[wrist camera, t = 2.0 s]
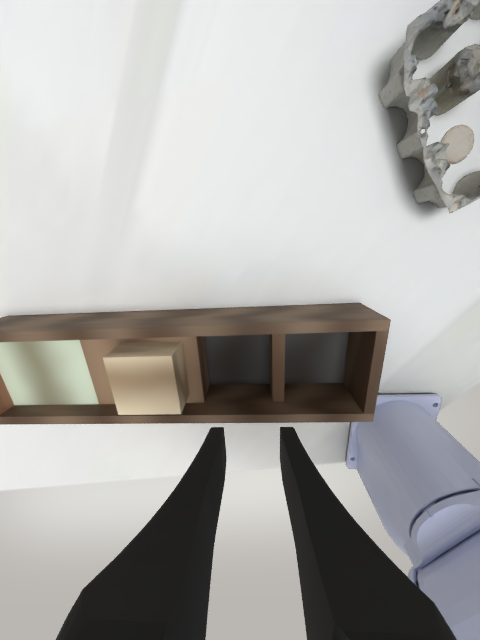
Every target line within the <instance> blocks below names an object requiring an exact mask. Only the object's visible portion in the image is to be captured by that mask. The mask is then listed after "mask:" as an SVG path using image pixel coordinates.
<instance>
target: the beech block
mask: <svg viewBox="0 0 480 640" xmlns="http://www.w3.org/2000/svg"><path fill="white" fill-rule="evenodd" d="M103 361H104V365H105V368H106V372H107V375H108V379H109V383H110V386H111V390H112V393H113V397H114V401H115V404H116V408H117V411H118V415H155V414H182V411H183V409H184V406H185V404H186V401H187V399H188V396H189V394H190V393H189V386H188V379H187V372H186V365H185V358H184V352H183V345H182V341H174V342H139V343H121V344H120V345H118V346H117V347H116V348H115V349H113V350H112V351H111V352H109V353H108V354H107V355H106V356H104V357H103Z"/></svg>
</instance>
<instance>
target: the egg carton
mask: <svg viewBox="0 0 480 640" xmlns="http://www.w3.org/2000/svg"><path fill="white" fill-rule="evenodd" d="M469 18H470V19H472V20H478V19H480V0H440V1H439V2H438V3H436V4H435V5H434V6H433V7H432V8H430V9H429V10H428V11H427V12H426V13H424V14H422V15H420V16H419V17H417V18H416V19H415V20H414V21H413V22H411V23H410V24H409V25H408V27H407V31H406V40H405V43H404V44H403V45H402V46H401V47H400V49H399V50H398V52H397V53H396V54H395V56H394V57H393V58H392V59H391V60H390V76H389V80H388V82H387V84H386V86H385V87H384V88H383V89H382V90H381V92H380V93H379V98H380V101H381V104H382V106H383V108H384V109H385V108H389V107H400V108H402V109H403V110H404V111H405V112H406V115H407V118H408V128H407V131H406V133H405V135H404V137H403V139H402V140H401V141H400V142H399V143H398V144H397V149H398V152H399V155H400V157H401V159H403V158H408V157H415V158H418V159H419V160H420V161H421V162H422V163H423V166H424V177H423V180H422V182H421V183H420V185H419V186H418V187H417V188H416V189H415V190H414V191H413V194H414V197H415V200H416V202H417V203H418V204H419V203H422V202H425V201H430V202H432V203H434V204H435V205H436V206H437V207H439V208H444V207H447V208H448V209H449V213H452V212H454V211H456V210H458V209H460V208H462V207H464V206H466V205H468V204H470V203H471V202H473V201H475V200H477V199H479V198H480V171H477V172H474V173H471V174H468V175H466V176H465V177H463V178H462V179H461V180H460V181H459V182H458V183H457V184H456V186H455V187H454V190H453V195H450V194H446V193H445V192H444V191H443V190H442V180H441V178H442V177H443V175H444V174H445V172H446V170H447V169H448V168H449V167H450V164H456V163H458V162H460V161H462V160H463V159H464V158H466V157H467V155H468V154H469V152H470V151H471V150H472V148H473V144H474V134H473V130H471V128H469V127H468V126H465V125H458V126H455V127H452V128H451V129H450V130H449V131H447V132H446V134H445V135H444V137H443V138H442V140H441V143H440V142H436V143H433V144H431V145H428V146H426V141H427V138H428V135H427V132H426V131H427V129H428V127H429V126H430V123H429V120H428V119H429V118H430V117H431V116H433V114H435V115H440V114H443V113H445V112H447V111H448V110H450V109H452V108H453V107H455V106H456V105H458V104H459V103H461V102H462V101H464V100H465V99H467V98H468V97H470V96H471V95H473V94H474V93H476V92H477V91H479V90H480V45H477V44H474V45H471V46H468V47H465V48H464V49H463V50H461V51H460V52H458V53H457V54H456V55H455V57H453V58H452V59H451V60H450V61H449V62H448V63H447V64H446V65H445V66H444V67H443V68H441V69H440V70H439V71H438V72H437V73H436V74H435V75H434V76H433V77H432V78H431V79H430V81H429V79H426V78H422V79H418V80H413V79H412V76H413V74H414V72H415V71H416V69H417V68H416V66H417V64H418V60H424V59H427V58H429V57H430V56H432V55H433V54H434V53H435V52H436V51H437V50H438V49H439V48H440V46H441V45H443V43H444V42H445V41H446V40H447V39H448V38H449V37H450V36H451V35H452V34H453V33H454V32H455V31H456V30H457V29H458V28H459V27H460V26H461V25H462V24H463V23H464V22H466V21H467V20H468V19H469ZM425 79H426V80H425ZM421 129H425V133H423V134H421V133H420V131H421Z"/></svg>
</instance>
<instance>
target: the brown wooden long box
mask: <svg viewBox="0 0 480 640" xmlns="http://www.w3.org/2000/svg"><path fill="white" fill-rule="evenodd" d="M390 321H391V320H390V319H388V318H387V317H385V316H383V315H381V314H379V313H377V312H376V311H374V310H372V309H370V308H368V307H366V306H365V305H363V304H361V303H346V304H319V305H292V306H265V307H238V308H211V309H184V310H157V311H130V312H103V313H76V314H49V315H22V316H6V317H3V318H0V424H131V423H285V422H373V419H374V413H375V407H376V402H377V396H378V390H379V384H380V378H381V373H382V367H383V361H384V355H385V350H386V344H387V338H388V332H389V327H390ZM174 341H182V345H183V352H184V358H185V365H186V372H187V379H188V386H189V393H190V394H189V396H188V399H187V401H186V404H185V406H184V409H183V411H182V414H155V415H118V411H117V408H116V404H115V401H114V397H113V393H112V390H111V386H110V383H109V379H108V375H107V372H106V368H105V365H104V361H103V357H104V356H106V355H107V354H108V353H109V352H111V351H112V350H113V349H115V348H116V347H117V346H118V345H120V344H121V343H139V342H174Z"/></svg>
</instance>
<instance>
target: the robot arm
mask: <svg viewBox="0 0 480 640" xmlns="http://www.w3.org/2000/svg"><path fill="white" fill-rule="evenodd" d="M441 401H442V398H441V397H440V396H439V395H437V394H401V395H378V396H377V402H376V407H375V413H374V419H373V422H351V428H350V436H349V443H348V451H347V458H346V465H347V467H348V468H349V469H357V470H358V473H359V475H360V477H361V479H362V481H363V483H364V485H365V487H366V490H367V491H368V494H369V496H370V498H371V500H372V502H373V504H374V507H375V509H376V511H377V513H378V515H379V517H380V519H381V522H382V524H383V526H384V527H385V529H386V531H387V533H388V534H389V536H390V537H391V539H392V540H393V541H394V542H395V543H396V545H397V546H398V547H399V548H400V549H401V550H402V551H403V552H405V554H407V555H408V556H409V558H410V560H411V562H412V564H413V567H412V568H411V569H410V571H409V573H408V577H407V576H406V575H405V574H404V573H403V572H402V571H401V570H400V569H399V568H398V567H397V566H396V565H395V564H394V563H393V562H392V561H391V560H390V559H389V558H388V557H387V555H386V554H385V553H384V552H383V551H382V550H381V549H380V548H379V547H378V546H377V545H376V544H375V542H374V541H373V540H372V539H371V538H370V537H369V536H368V535H367V534H366V532H365V531H364V530H363V529H362V528H361V527H360V526H359V525H358V524H357V523H356V521H355V520H354V519H353V517H352V516H351V515H350V514H349V513H348V512H347V510H346V509H345V508H344V506H343V505H342V504H341V503H340V501H339V500H338V499H337V497H336V496H335V495H334V493H333V492H332V491H331V489H330V488H329V487H328V485H327V484H326V482H325V481H324V479H323V478H322V476H321V475H320V473H319V472H318V470H317V469H316V467H315V465H314V464H313V462H312V461H311V459H310V457H309V456H308V454H307V452H306V451H305V449H304V447H303V445H302V443H301V442H300V440H299V438H298V436H297V433H296V431H295V429H294V428H293V427H280V463H281V471H282V481H283V486H284V491H285V496H286V501H287V505H288V510H289V516H290V521H291V525H292V531H293V536H294V541H295V547H296V554H297V561H298V569H299V577H300V585H301V593H302V600H303V609H304V617H305V625H306V633H307V640H480V462H479V461H478V460H477V459H476V458H475V457H474V456H473V455H472V454H470V452H468V451H467V450H466V449H465V448H464V447H463V446H462V445H461V444H460V443H459V442H458V441H457V440H456V439H455V438H454V437H453V436H452V435H451V434H450V433H449V432H448V431H447V430H445V429H444V428H443V427H442V426H441V425H440V424H439V423H438V422H437V421H436V419H437V415H438V411H439V408H440V404H441ZM225 470H226V448H225V437H224V427H212V428H211V429H210V430H209V433H208V435H207V437H206V439H205V441H204V443H203V444H202V446H201V448H200V450H199V452H198V453H197V455H196V457H195V459H194V460H193V462H192V464H191V465H190V467H189V468H188V470H187V471H186V473H185V474H184V476H183V478H182V479H181V481H180V482H179V484H178V485H177V486H176V488H175V489H174V491H173V492H172V493H171V495H170V496H169V497H168V499H167V500H166V501H165V503H164V504H163V505H162V506H161V508H160V509H159V510H158V511H157V513H156V514H155V515H154V516H153V517H152V519H151V520H150V521H149V522H148V523H147V525H146V526H145V527H144V528H143V529H142V530H141V531H140V532H139V533H138V535H137V536H136V537H135V538H134V539H133V540H132V541H131V542H130V543H129V544H128V545H127V546H126V547H125V548H124V549H123V551H122V552H121V553H120V554H119V555H118V556H117V557H116V558H115V559H114V560H113V561H112V562H111V563H110V564H109V565H108V566H107V567H105V569H103V570H102V571H101V572H100V573H99V574H98V575H97V576H96V577H95V578H94V579H93V580H92V581H91V582H90V583H89V584H88V585H87V586H86V587H85V588H84V589H83V590H82V592H81V593H80V595H79V597H78V599H77V600H76V602H75V604H74V606H73V607H72V609H71V611H70V613H69V614H68V616H67V618H66V620H65V622H64V624H63V626H62V628H61V630H60V632H59V634H58V636H57V638H56V640H205V637H206V625H207V613H208V602H209V591H210V580H211V569H212V559H213V549H214V542H215V534H216V529H217V528H216V527H217V523H218V517H219V511H220V505H221V499H222V493H223V487H224V481H225Z"/></svg>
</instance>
